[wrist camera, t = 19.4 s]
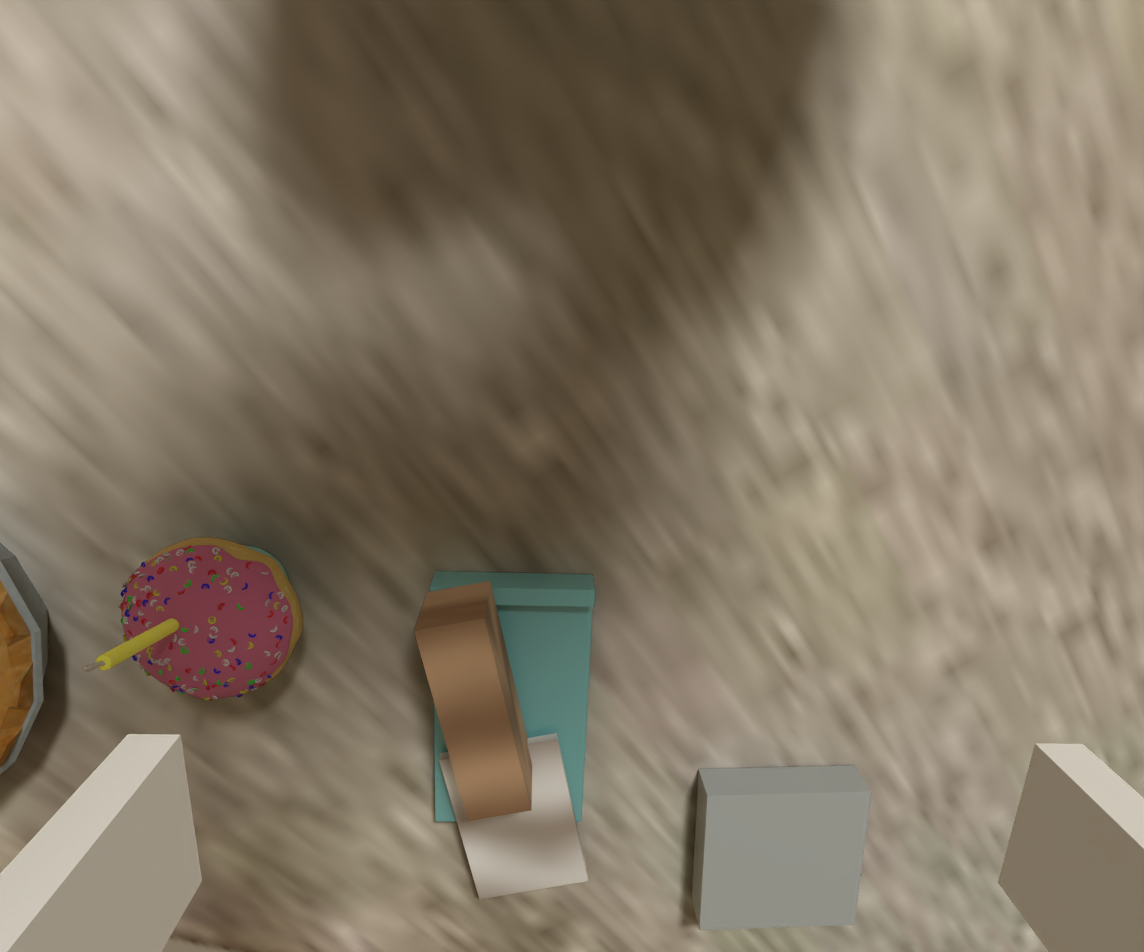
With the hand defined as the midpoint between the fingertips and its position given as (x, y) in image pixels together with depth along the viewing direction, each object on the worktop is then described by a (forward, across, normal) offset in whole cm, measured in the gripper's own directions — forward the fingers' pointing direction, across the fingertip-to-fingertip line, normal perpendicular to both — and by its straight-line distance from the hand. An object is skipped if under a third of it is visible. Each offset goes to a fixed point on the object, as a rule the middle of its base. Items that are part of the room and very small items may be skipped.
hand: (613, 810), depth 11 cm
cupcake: (+28, +18, +10) cm, 34 cm away
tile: (+26, -14, +22) cm, 37 cm away
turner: (+26, +3, +19) cm, 32 cm away
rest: (+27, +3, +17) cm, 32 cm away
